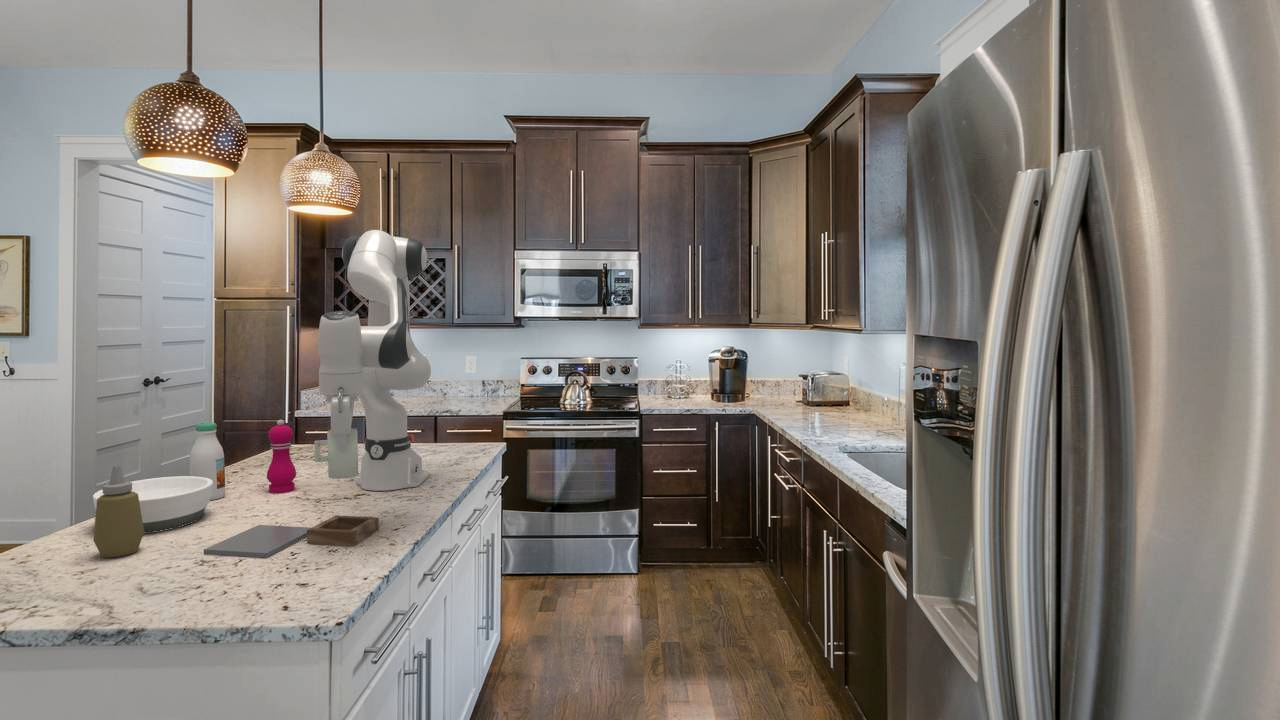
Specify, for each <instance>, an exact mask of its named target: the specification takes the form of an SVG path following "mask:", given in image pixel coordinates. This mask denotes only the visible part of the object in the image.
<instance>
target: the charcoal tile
mask: <svg viewBox="0 0 1280 720" xmlns="http://www.w3.org/2000/svg"><path fill="white" fill-rule="evenodd" d="M310 528H312V527H309V526H308V527H307V526H305V527H304V526H293V525H292V526H291V525H290V526H289V525H275V524H274V525H273V524H272V525H270V524H258V525H256V526H253V527H251V528H249V529H246V530H244V531H243V532H240V533H238V534H235V535H233V536H230V537H229V538H226V539H224V540H222V541H219V542H216V543H215V544H213V545H210V546H209V547H206V548H204V549H203V555H208V554H214V555H213V556H227V557H241V556H242V557H244V558H247V557H248V558H258V557H261V559H268V558H270V557H272V556H274V555H275V553H276V554H278V553H279V552H281V551H283V550H285V549H287V548H289V547H290V545H291V546H293V545H294V543H295V542H296V543H298V542H300V541H302V540H304V539H306V538H307V530H308V529H310ZM305 537H306V538H305ZM303 538H304V539H303ZM301 539H302V540H301ZM299 540H300V541H299ZM297 541H298V542H297ZM296 543H295V544H296ZM292 544H293V545H292ZM288 546H289V547H288ZM286 547H287V548H286ZM284 548H285V549H284ZM271 555H272V556H271ZM267 557H268V558H267Z"/></svg>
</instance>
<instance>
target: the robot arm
mask: <svg viewBox="0 0 1280 720" xmlns="http://www.w3.org/2000/svg"><path fill="white" fill-rule="evenodd" d="M341 259H342V261H343V265H344V267H345V268H346V269H347V272H346V273H347V274H346V276H347V281H348V284H349V285H350V287H351V288H352V289H353V291H354V292H355V293H357V294H358V295H359V296H361V297H363V298H364V299H367V300H368V315H367V326H366V325H364V326H363V325H361V321H360V316H359V314H358V313H357V312H354V311H350V310H348V311H347V310H337V311H336V310H335V311H328V312H325V313H324V314H322V315H321V317H320V320H319V326H318V327H319V328H318V336H317V339H318V340H317V349H318V350H317V353H318V357H319V360H320V363H319V364H320V365H319V368H318V393H319V395H321V396H325V402H326V403H330V430H331V433H332V434H333V435H336V438H337V446H338V452H345V451H347V434H349V433H350V431H351V428H352V423H353V415H354V407H355V402H356V401H358V398H359V399H360V402H361V404H362V406H363V410H364V414H365V428H366V437H365V438H364V450H365V453H364V454H363V455H362V456H361V463H360V476H359V477H360V478H359V479H357V480H356V485H358V486H360V488H361V489H363V490H366V491H367V490H368V491H376V492H379V491H382V492H383V491H394V490H401V489H406V488H407V489H408V488H417V487H419V486H421V484H422V483H424V481H426V480H427V478H429V477H430V476H431V471H428V470H425V469H423V459H422V457H421V456H420V455H419V454H418V453H416V451H414V450H413V449H412V444H411V442H414V441H415V435H414V434H408V412H407V410H406V408H405V406H403V404H401V403H399V402H397V401H396V400H395V398H394V397H393V396H392V394H391V390H394V391H395V390H397V391H409V390H416V389H421V388H423V387H424V386H425V385H427V383H429V379H430V378H431V373H432V369H431V364H430V362H429V360H428V359H427V357H426V356H425V355H424V354H423V353H421V352H420V351H419V350H418V348H417V347H416V345H415V343H414V341H413V338H412V335H411V330H410V328H411V327H410V304H411V302H410V301H411V297H410V296H411V295H410V284H409V283H410V282H414V279H415V278H417V277H419V276H421V275H422V274H423V273H424V272H425V268H426V266H427V263H428V253H427V250H426V248H425V244H424V243H423V242H422V240H418V239H415V238H411V237H409V238H406V237H401V236H394V235H393V236H392V235H391V234H390V233H388V232H387V231H384V230H379V229H370V230H367V231H366V232H364V233H363V234H362V235H361V234H360V235H359V234H358V235H352V236H349V237H348V238H346V240H345V241H344V243H343V246H342V251H341ZM409 281H410V282H409Z"/></svg>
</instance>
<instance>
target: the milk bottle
mask: <svg viewBox="0 0 1280 720" xmlns="http://www.w3.org/2000/svg"><path fill="white" fill-rule="evenodd" d="M217 426H218V425H217V423H215V422H203V423H197V424H196V425H195V433H196V439H195V442H194V444H193V445H192V448H191V451H190V453H189V476H195V477H204V478H209V479H211V480H212V481H213V487H212V495H211V498H210V500H209V501H215V500H218V499H219V500H220V499H222V498H224V497H225V495H226V471H225V470H226V469H225V467H226V466H225V453H224V449H223V446H222V445H221V444H220V443H221V442H220V441H219V440H218V438H217V433H216V432H217V430H218V429H217Z"/></svg>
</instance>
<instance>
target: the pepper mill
mask: <svg viewBox="0 0 1280 720" xmlns="http://www.w3.org/2000/svg"><path fill="white" fill-rule="evenodd" d="M293 436H294V432H293V429H292V428H291V427H290V426H289V425H285V422H284V419H279V420H277V421H276V425H275V426H273V427H271V428H270V429H269V431H268V435H267V437H268V439H269V441H271V443H270V449H271V450H272V458H271V462H270V464H269V467H268V469H267V471H266V480H267V481H268V482H269V483H270V484H269V485H268V491H269V493H272V494H284V493H289V492H293V491H294V490H295V489H296V487H295V482H293V481H294V480H295V479H296V477H297V469H296V468H295V467H296V466H295V465H294V463H293V461H292V459H291V455H290V453H291V452H290V450H291V449H290V448H291V447H292V442H291V440H292V438H293Z"/></svg>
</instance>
